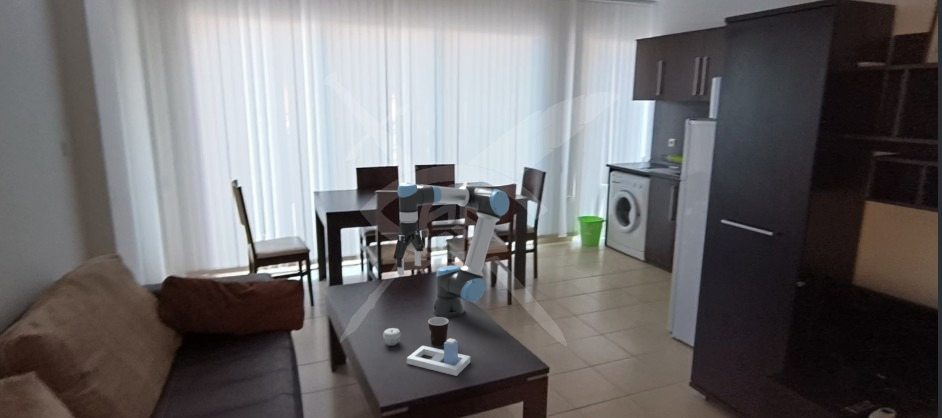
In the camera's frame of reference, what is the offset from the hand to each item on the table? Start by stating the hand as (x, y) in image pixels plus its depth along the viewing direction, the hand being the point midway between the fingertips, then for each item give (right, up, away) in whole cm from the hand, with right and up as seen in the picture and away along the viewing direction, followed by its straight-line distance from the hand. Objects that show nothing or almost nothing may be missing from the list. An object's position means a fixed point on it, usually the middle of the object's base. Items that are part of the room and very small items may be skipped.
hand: (409, 270), depth 220 cm
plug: (+18, -36, -17) cm, 43 cm away
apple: (-8, -32, +2) cm, 33 cm away
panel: (+13, -35, -14) cm, 40 cm away
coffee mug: (+12, -32, +5) cm, 34 cm away
